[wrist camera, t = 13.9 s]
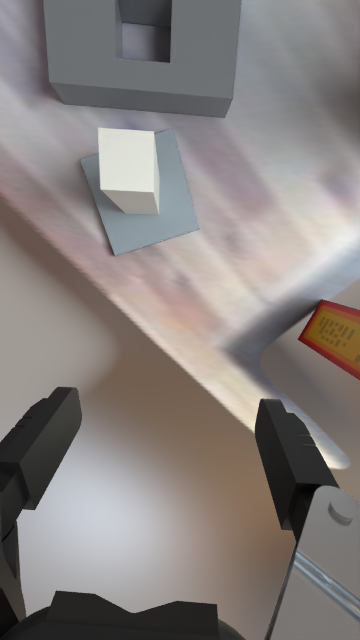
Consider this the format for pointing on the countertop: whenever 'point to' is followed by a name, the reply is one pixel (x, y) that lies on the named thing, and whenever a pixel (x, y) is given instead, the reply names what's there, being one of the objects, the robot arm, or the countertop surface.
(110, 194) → the tall cream white pillar
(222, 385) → the countertop surface
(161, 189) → the mat
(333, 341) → the baking soda box
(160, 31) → the countertop surface
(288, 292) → the countertop surface
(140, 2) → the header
